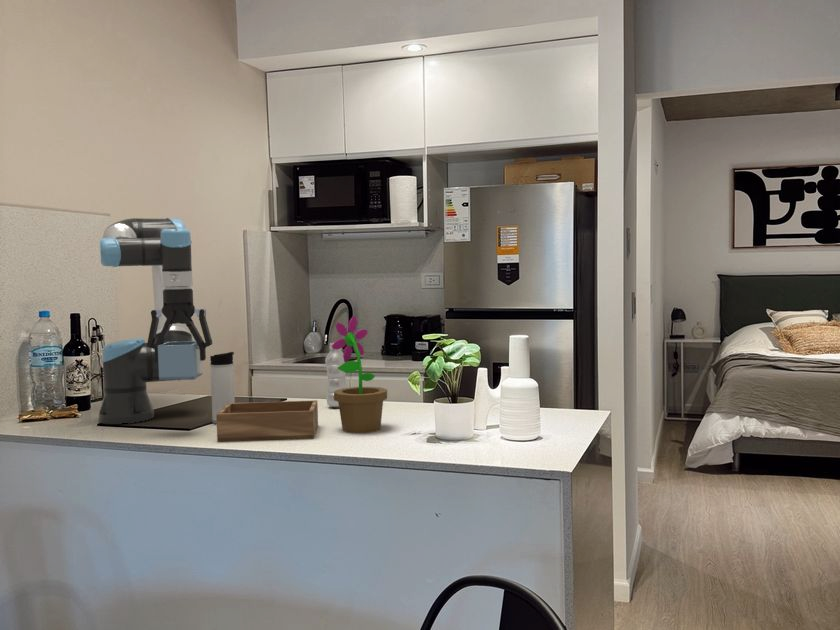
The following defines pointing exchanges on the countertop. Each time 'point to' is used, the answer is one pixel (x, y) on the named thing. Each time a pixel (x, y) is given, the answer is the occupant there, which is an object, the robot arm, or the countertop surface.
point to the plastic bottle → (334, 374)
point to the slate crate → (178, 360)
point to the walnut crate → (267, 421)
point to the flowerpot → (357, 402)
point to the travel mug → (221, 382)
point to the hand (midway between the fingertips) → (181, 373)
